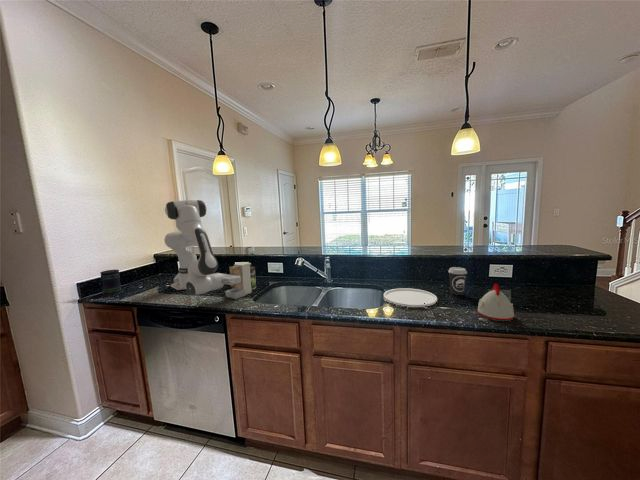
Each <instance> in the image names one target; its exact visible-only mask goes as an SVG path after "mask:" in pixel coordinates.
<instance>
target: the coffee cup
mask: <svg viewBox="0 0 640 480" xmlns="http://www.w3.org/2000/svg"><path fill="white" fill-rule="evenodd" d="M448 273H449V274H448V276H449V277H448V278H449V286H450V287H449V288H450V294H451V293H452V294H456V295H462V294H463V295H464V293H465V285H466V278H467V274H468V271H467V270H466V268H464V267H459V266H457V267H456V266H453V267H449V269H448Z"/></svg>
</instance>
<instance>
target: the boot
mask: <svg viewBox="0 0 640 480" xmlns="http://www.w3.org/2000/svg"><path fill="white" fill-rule="evenodd" d="M251 265H252V263H251V262H245V261H241V262H237V263H234V264H233V266H240V277H241V286H239V287H236V288H234V287H233V288H231V289H228V290H226V291H225V297H226V298H228V299H232V300H238V299H240V298H243V297H246V296H247V295H249V294H251V293H252V290H251V276H250V266H251Z"/></svg>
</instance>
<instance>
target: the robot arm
mask: <svg viewBox="0 0 640 480" xmlns="http://www.w3.org/2000/svg"><path fill="white" fill-rule="evenodd" d="M207 209H208V208H207V205H206V203H205V202H204V201H203V200H199V199H197V200H192V199H188V200H187V199H186V200H176V201H169V202H166V203H165V208H164V212H165V215H166V216H167V218H168V219H170V220H174V221H175V227H176V228H177V230H178V231H173V232H168V233H166V235H165V236H164V244H165V245H166V247H168V248H169V249H171V250H172V251H174V253H175V254H176V256H177V258H178V264H179V267H178V268H177V270H178V273H177V275H176V276H174V278H173V279H172V280H173V283H172V284H170V287H171V288H173V289H175V290H177V291H181V290H187V291H188V294H191V295H192V296H193V295H202V294H205V293H209V292H211V291H215V290H219V289H222V288H223V287H224V285H229V286H231V285H233V284H237V283H240V282H241V277H240V275H236V276H235V275H230V273H228V274H227V273H220V272H216V271H218V268H219V262H218V259H217V258H216V257H215V254H214V252H213V249H212V247H211V243H210V240H209V236H208V233H207V232H206V230H205V229H204V227H203V224H202V219H201V218H203V217H205V216H206V215H207V211H208V210H207ZM191 247H192V248H193V247H197V249H198V252H199V258H197V254H195V253H194V252H192V251H189V250H187V248H191Z"/></svg>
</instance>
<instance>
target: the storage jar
mask: <svg viewBox="0 0 640 480" xmlns="http://www.w3.org/2000/svg"><path fill="white" fill-rule="evenodd" d="M120 275H121V274H120V270H119V269H108V270H103V271H100V280H101V283H102V287H101V290H102V295H103V296H114V295H118V294H120V293H122V284H121V276H120Z"/></svg>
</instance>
